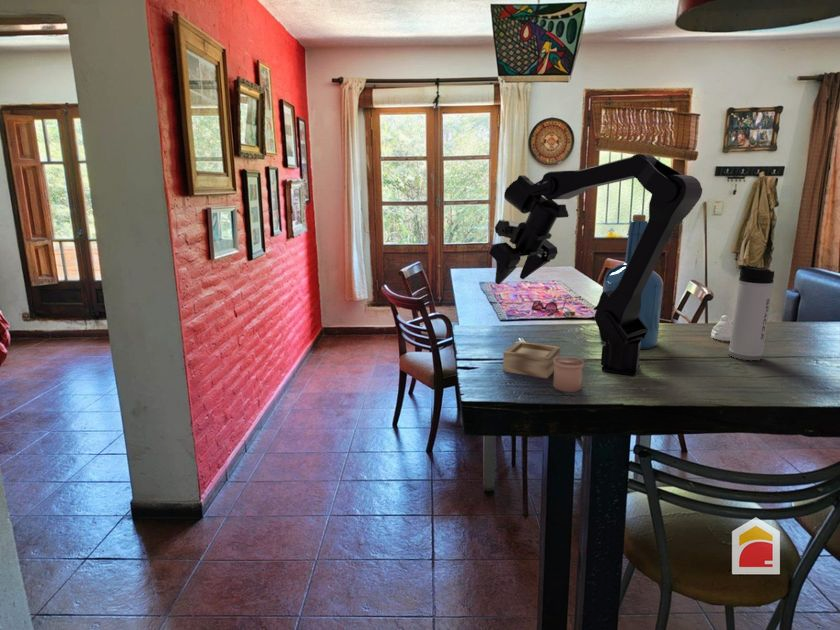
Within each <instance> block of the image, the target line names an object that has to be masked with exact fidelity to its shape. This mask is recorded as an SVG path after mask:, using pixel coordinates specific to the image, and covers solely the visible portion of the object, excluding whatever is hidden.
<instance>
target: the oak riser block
mask: <svg viewBox="0 0 840 630" xmlns="http://www.w3.org/2000/svg"><path fill="white" fill-rule="evenodd" d="M557 357H561V346H557V345H547V344H543V343H542V344H541V343H536V342H534V343H532V342H527V341H521V340H520V341H519V340H518V341H517V342H515V343H514V344H513V345H512V346H510V347H508V348H507V349H506V350H504V352H503V358H502V359H503V364H502V372H506V373H512V374H519V375H525V376H530V377H535V378H542V379H549V377H551V375H553V374H554V363H553V362H554V359H555V358H557Z"/></svg>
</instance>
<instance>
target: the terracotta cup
mask: <svg viewBox="0 0 840 630" xmlns="http://www.w3.org/2000/svg"><path fill="white" fill-rule="evenodd" d="M553 363H554V372H553V385H552V386H553V388H554V389H555V390H558V391H562V392H568V393H574V392H579V391H581V390H582V384H583V383H582V381H583V368H584V367H585V361H584V360H583V359H581V358H579V357H574V356H560V357H557V358H555V359H554V362H553Z"/></svg>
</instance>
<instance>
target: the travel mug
mask: <svg viewBox="0 0 840 630" xmlns="http://www.w3.org/2000/svg"><path fill="white" fill-rule="evenodd" d="M738 269H740V270H739V271H740V272H739V278H738V284H737V289H736V298H735V304H734V313H733V318H732V324H733V325H732V332H731V339H730V342H729V348H728V356H730V357H731V356H732V357H731V358H733V357H734V358H733V359H736V358H738V359H737V360H740V359H743V360H742V361H746V360H758V361H760V359H761V360H762V359H763V355H764V354H763V353H764V352H763V351H764V348H765V347H764V345H765V341H766V340H765V339H766V335H767V334H766V332H767V328H768V327H767V326H768V320H769V316H770V315H769V314H770V307H771V302H772V295H773V288H774V286H773V285H774V279H775V270H771V269H769V268H764V267H763V268H762V267H757V266H750V265H744V264H739V265H738Z"/></svg>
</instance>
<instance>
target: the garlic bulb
mask: <svg viewBox="0 0 840 630" xmlns="http://www.w3.org/2000/svg"><path fill="white" fill-rule="evenodd" d="M729 319H730V318H729V316H727V315H726V314H725V315H721V317H720V320H719V321H718V322H717V323H716V324H715V326H713V328H711V329H712V330H711V334H710V338H712V339H713V338H714V339H718V340H725V341H730V339H731V332H732V325H733V322H731V321H730V320H729ZM714 339H713V340H714ZM718 340H717V341H718Z"/></svg>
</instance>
